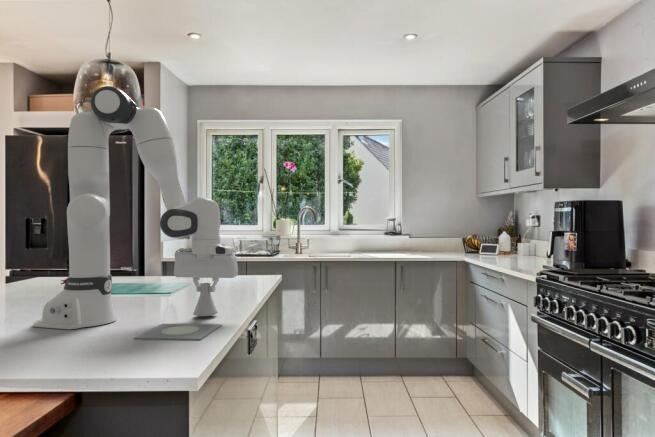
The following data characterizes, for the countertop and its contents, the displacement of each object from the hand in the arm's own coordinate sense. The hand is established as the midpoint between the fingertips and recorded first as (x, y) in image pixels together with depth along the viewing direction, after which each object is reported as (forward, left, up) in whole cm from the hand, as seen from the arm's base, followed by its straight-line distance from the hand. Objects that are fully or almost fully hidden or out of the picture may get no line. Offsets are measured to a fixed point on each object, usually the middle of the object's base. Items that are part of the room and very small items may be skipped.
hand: (205, 291), depth 144 cm
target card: (0, -20, -8) cm, 21 cm away
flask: (0, 0, -8) cm, 8 cm away
